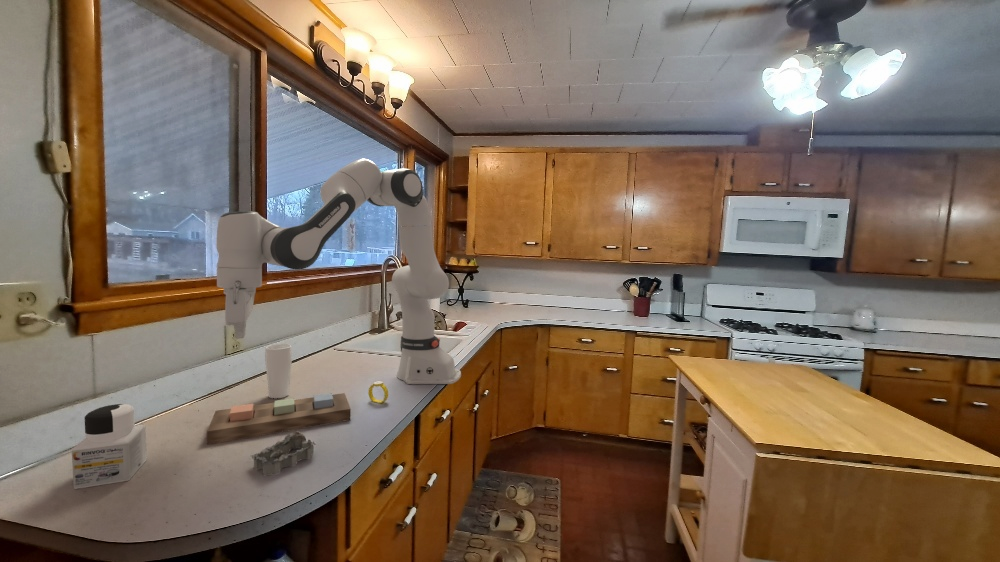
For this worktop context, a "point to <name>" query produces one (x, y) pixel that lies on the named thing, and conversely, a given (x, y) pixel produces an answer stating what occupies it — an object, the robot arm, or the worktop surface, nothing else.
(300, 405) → the button panel
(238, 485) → the worktop surface
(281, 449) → the egg carton
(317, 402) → the slate button
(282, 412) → the sage button
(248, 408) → the terracotta button
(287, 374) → the drinking glass
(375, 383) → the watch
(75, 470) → the container
